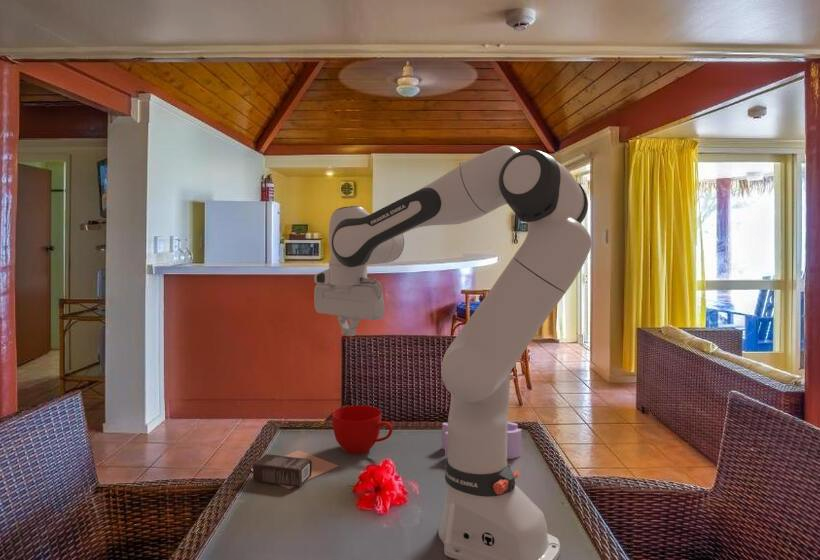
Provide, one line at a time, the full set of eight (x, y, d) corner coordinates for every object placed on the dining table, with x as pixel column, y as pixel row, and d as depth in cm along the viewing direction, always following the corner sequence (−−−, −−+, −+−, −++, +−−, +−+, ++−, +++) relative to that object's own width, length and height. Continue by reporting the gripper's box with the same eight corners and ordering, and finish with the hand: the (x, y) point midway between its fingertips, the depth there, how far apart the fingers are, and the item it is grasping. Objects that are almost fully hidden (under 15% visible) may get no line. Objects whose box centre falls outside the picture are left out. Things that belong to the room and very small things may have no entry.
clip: (513, 443, 146) (513, 418, 145) (525, 462, 133) (526, 435, 133) (440, 444, 145) (440, 420, 144) (446, 464, 132) (446, 437, 132)
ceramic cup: (379, 466, 130) (379, 426, 130) (322, 454, 138) (322, 416, 137) (403, 447, 142) (403, 411, 141) (349, 437, 149) (349, 402, 149)
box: (311, 477, 124) (266, 469, 127) (312, 459, 124) (266, 451, 127) (299, 489, 118) (252, 481, 122) (299, 470, 118) (252, 462, 121)
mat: (338, 466, 130) (338, 465, 130) (289, 489, 118) (289, 488, 118) (298, 451, 139) (298, 450, 139) (249, 470, 128) (249, 469, 128)
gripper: (390, 278, 120) (390, 338, 121) (329, 274, 133) (329, 328, 134) (371, 279, 115) (371, 342, 116) (309, 275, 128) (310, 332, 129)
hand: (348, 335), depth 125 cm, fingers closed
